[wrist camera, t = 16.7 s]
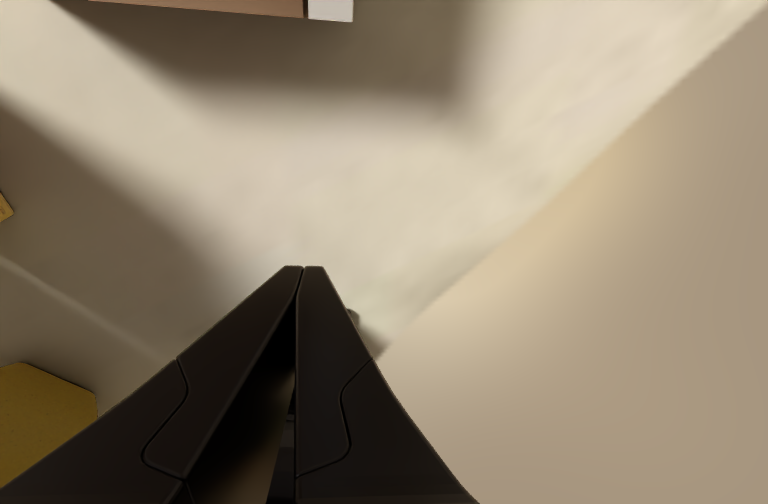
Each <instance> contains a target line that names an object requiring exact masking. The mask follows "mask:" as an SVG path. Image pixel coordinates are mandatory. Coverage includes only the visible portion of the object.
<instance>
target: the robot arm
mask: <svg viewBox="0 0 768 504" xmlns="http://www.w3.org/2000/svg"><path fill="white" fill-rule="evenodd" d="M0 504H480V503H478V502H477V501H476V500H475V499H474V498H473V497H472V496H471V495H470V494H469V493H468V492H467V491H466V490H465V488H464V487H463V486H462V485H461V484H460V483H459V481H458V480H457V479H456V477H455V476H454V475H453V474H452V472H451V471H450V470H449V468H448V467H447V466H446V465H445V463H444V462H443V460H442V459H441V458H440V456H439V455H438V454H437V452H436V451H435V450H434V448H433V447H432V446H431V444H430V443H429V442H428V440H427V439H426V438H425V436H424V435H423V434H422V432H421V431H420V430H419V428H418V427H417V426H416V424H415V423H414V422H413V420H412V419H411V418H410V416H409V415H408V413H407V412H406V411H405V409H404V408H403V406H402V405H401V403H400V402H399V401H398V399H397V398H396V396H395V395H394V393H393V392H392V390H391V388H390V387H389V385H388V383H387V382H386V380H385V378H384V377H383V375H382V373H381V371H380V370H379V368H378V366H377V364H376V362H375V361H374V360H373V357H372V355H371V353H370V352H369V350H368V348H367V346H366V344H365V342H364V341H363V339H362V337H361V335H360V333H359V331H358V330H357V328H356V326H355V324H354V322H353V320H352V318H351V312H350V311H349V310H347V309H346V307H345V306H344V304H343V302H342V300H341V298H340V296H339V295H338V293H337V291H336V289H335V287H334V285H333V284H332V282H331V280H330V278H329V276H328V274H327V273H326V271H325V269H324V268H323V267H322V266H306V267H305V268H303V267H302V266H288V265H287V266H284V267H283V268H281V269H280V270H279V271H278V272H277V273H275V274H274V275H273V276H272V277H271V278H269V279H268V280H267V281H266V282H265V283H264V284H262V285H261V286H260V287H259V288H258V289H256V290H255V291H254V292H253V293H252V294H251V295H249V296H248V297H247V298H246V299H245V300H243V301H242V302H241V303H240V304H239V305H237V306H236V307H235V308H234V309H233V310H232V311H230V312H229V313H228V314H227V315H226V316H224V317H223V318H222V319H221V320H220V321H218V322H217V323H216V324H215V325H214V326H213V327H211V328H210V329H209V330H208V331H207V332H205V333H204V334H203V335H202V336H201V337H200V338H198V339H197V340H196V341H195V342H194V343H192V344H191V345H190V346H189V347H188V348H186V349H185V350H184V351H183V352H182V353H181V354H179V355H178V356H177V357H176V360H172V361H171V362H170V363H168V364H167V365H166V366H165V367H164V368H162V369H161V370H160V371H159V372H158V373H157V374H155V375H154V376H153V377H152V378H150V379H149V380H148V381H147V382H145V383H144V384H143V385H142V386H140V387H139V388H138V389H137V390H135V391H134V392H133V393H132V394H130V395H129V396H128V397H126V398H125V399H124V400H122V401H121V402H120V403H118V404H117V405H116V406H114V407H113V408H112V409H110V410H109V411H107V412H106V413H105V414H103V415H102V416H101V417H99V418H98V419H97V420H95V421H94V422H92V423H91V424H90V425H88V426H87V427H85V428H84V429H83V430H81V431H80V432H78V433H77V434H76V435H74V436H73V437H71V438H70V439H69V440H67V441H66V442H64V443H63V444H62V445H60V446H59V447H57V448H56V449H55V450H53V451H52V452H50V453H49V454H48V455H46V456H45V457H43V458H42V459H41V460H39V461H38V462H36V463H35V464H34V465H32V466H31V467H29V468H28V469H27V470H25V471H24V472H22V473H21V474H20V475H18V476H17V477H15V478H14V479H13V480H11V481H10V482H8V483H7V484H6V485H4V486H3V487H1V488H0Z"/></svg>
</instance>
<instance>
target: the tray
mask: <svg viewBox="0 0 768 504" xmlns="http://www.w3.org/2000/svg"><path fill="white" fill-rule="evenodd" d="M353 11H354V0H308V13H309V19H318V20H330V21H342V22H352V21H353Z"/></svg>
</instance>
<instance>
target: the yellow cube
mask: <svg viewBox="0 0 768 504" xmlns="http://www.w3.org/2000/svg"><path fill="white" fill-rule="evenodd" d="M95 420H97V403H96V398H95V395H94V394H93V393H92V392H90V391H88V390H85V389H83V388H81V387H78V386H76V385H74V384H71V383H69V382H67V381H65V380H62V379H60V378H58V377H55V376H53V375H51V374H49V373H46V372H44V371H42V370H40V369H38V368H35V367H33V366H30V365H28V364H25V363H15V364H11V365H7V366H4V367H0V488H1V487H3V486H4V485H6V484H7V483H8V482H10V481H11V480H13V479H14V478H15V477H17V476H18V475H20V474H21V473H22V472H24V471H25V470H27V469H28V468H29V467H31V466H32V465H34V464H35V463H36V462H38V461H39V460H41V459H42V458H43V457H45V456H46V455H48V454H49V453H50V452H52V451H53V450H55V449H56V448H57V447H59V446H60V445H62V444H63V443H64V442H66V441H67V440H69V439H70V438H71V437H73V436H74V435H76V434H77V433H78V432H80V431H81V430H83V429H84V428H85V427H87V426H88V425H90V424H91V423H92V422H94V421H95Z"/></svg>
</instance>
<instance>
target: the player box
mask: <svg viewBox="0 0 768 504" xmlns="http://www.w3.org/2000/svg"><path fill="white" fill-rule="evenodd" d="M90 1H102V2H114V3H126V4H138V5H150V6H162V7H174V8H187V9H199V10H211V11H223V12H235V13H247V14H259V15H271V16H283V17H295V18H309V13H308V0H90Z"/></svg>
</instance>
